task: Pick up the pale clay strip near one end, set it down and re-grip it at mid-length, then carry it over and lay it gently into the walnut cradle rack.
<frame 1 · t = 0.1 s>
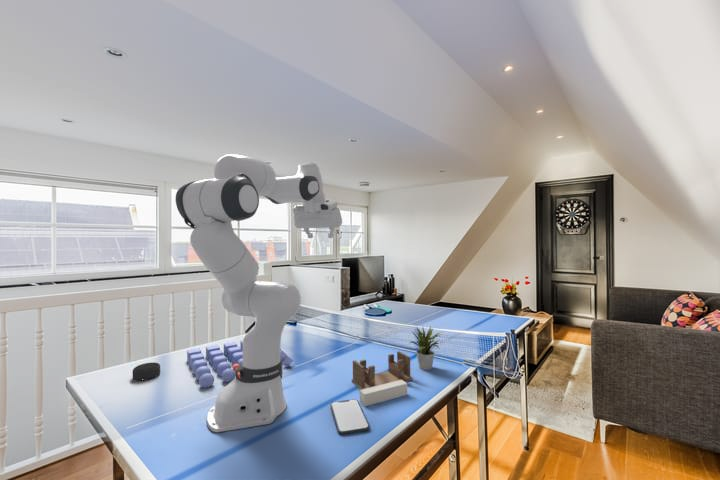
hand: (320, 237, 135), 52 cm above the table, tool tilted 20°, fingers open, 8 cm apart
clay strip: (384, 399, 106), on the table
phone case: (348, 419, 95), on the table
house plant: (426, 369, 130), on the table
rack: (382, 381, 119), on the table
blocks: (239, 365, 137), on the table
smart speaker: (146, 377, 125), on the table
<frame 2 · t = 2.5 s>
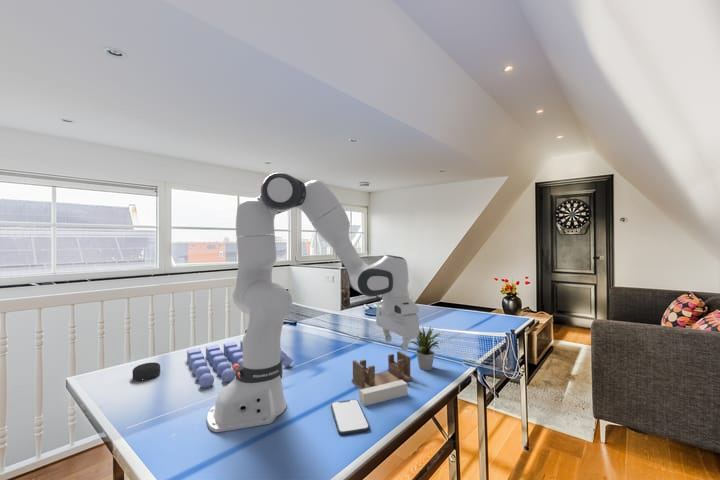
hand: (396, 345, 110), 16 cm above the table, tool pointing down, fingers open, 8 cm apart
nothing on the table moved.
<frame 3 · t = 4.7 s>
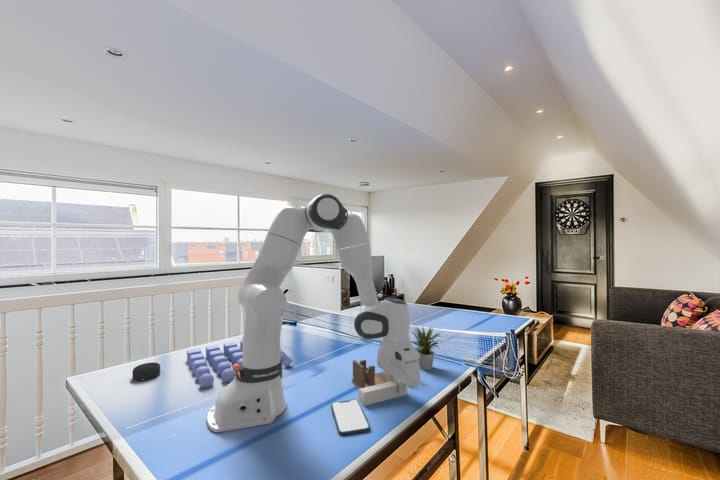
hand: (396, 389, 109), 2 cm above the table, tool pointing down, fingers closed on clay strip, 3 cm apart
clay strip: (383, 397, 107), on the table, touching gripper
everything else where it was.
when the fingers open (2 cm above the table, at t = 6.6 s): clay strip stays where it is, on the table.
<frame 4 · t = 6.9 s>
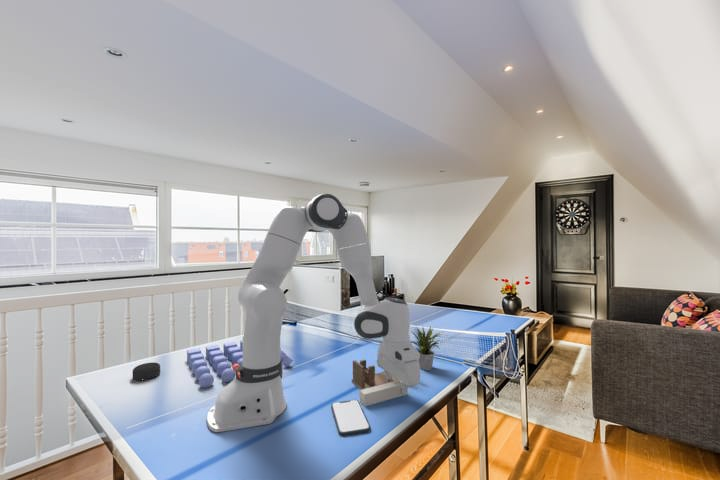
hand: (396, 389, 109), 2 cm above the table, tool pointing down, fingers open, 7 cm apart
clay strip: (383, 398, 106), on the table
everything else where it was.
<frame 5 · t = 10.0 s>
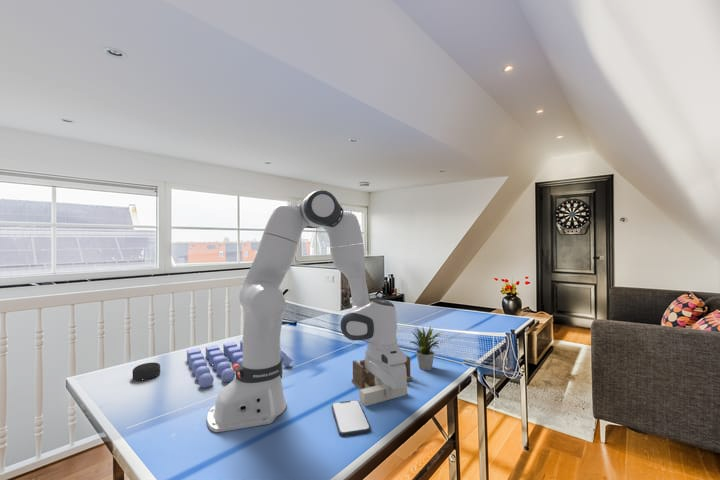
hand: (383, 392, 106), 2 cm above the table, tool pointing down, fingers closed on clay strip, 3 cm apart
clay strip: (384, 398, 106), on the table, touching gripper
everything else where it was.
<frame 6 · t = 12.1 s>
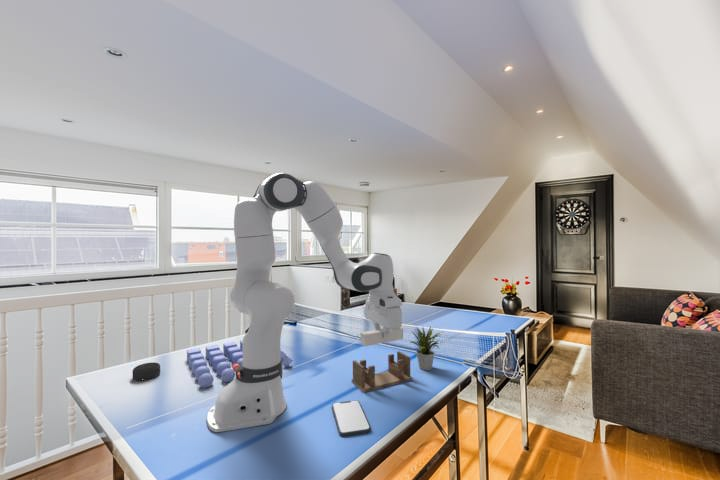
hand: (381, 336, 119), 16 cm above the table, tool pointing down, fingers closed on clay strip, 3 cm apart
clay strip: (382, 341, 119), point 14 cm above the table, touching gripper
everything else where it was.
when the fingers open (8 cm above the table, at t = 14.3 s): clay strip stays where it is, resting on rack.
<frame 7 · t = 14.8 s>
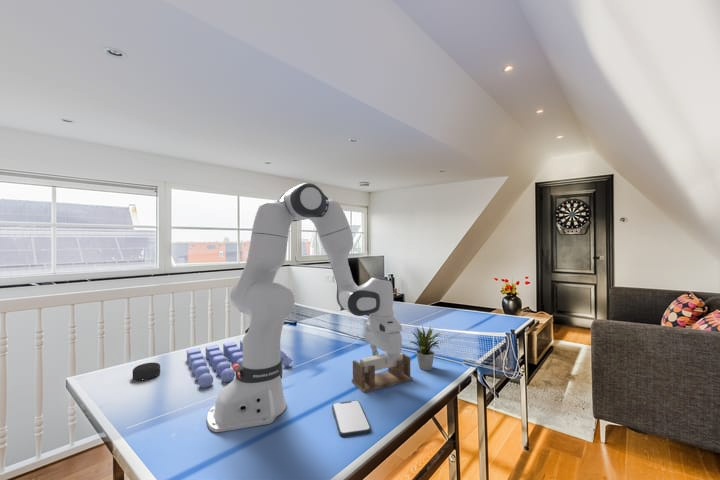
hand: (381, 360, 119), 8 cm above the table, tool pointing down, fingers open, 8 cm apart
clay strip: (382, 367, 119), point 5 cm above the table, touching rack
everything else where it was.
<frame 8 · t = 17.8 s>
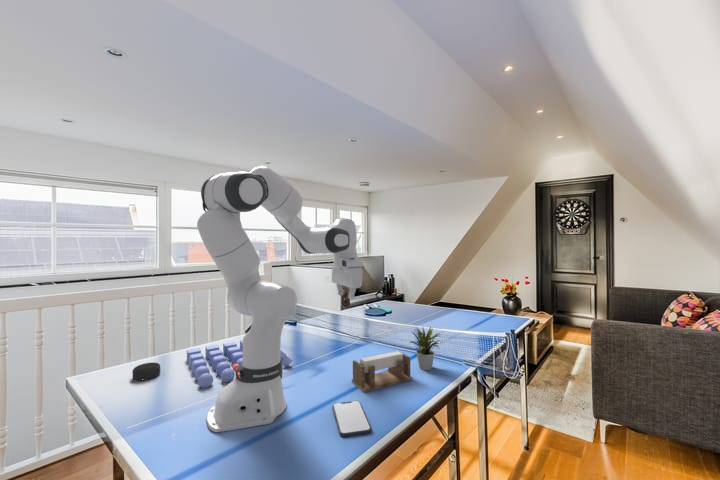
hand: (345, 297, 127), 29 cm above the table, tool pointing down, fingers open, 8 cm apart
at the end: clay strip 0.1 cm off-centre on the rack, point 5.0 cm above the rack's base; the gripper is holding nothing; clay strip tilted 0° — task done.
